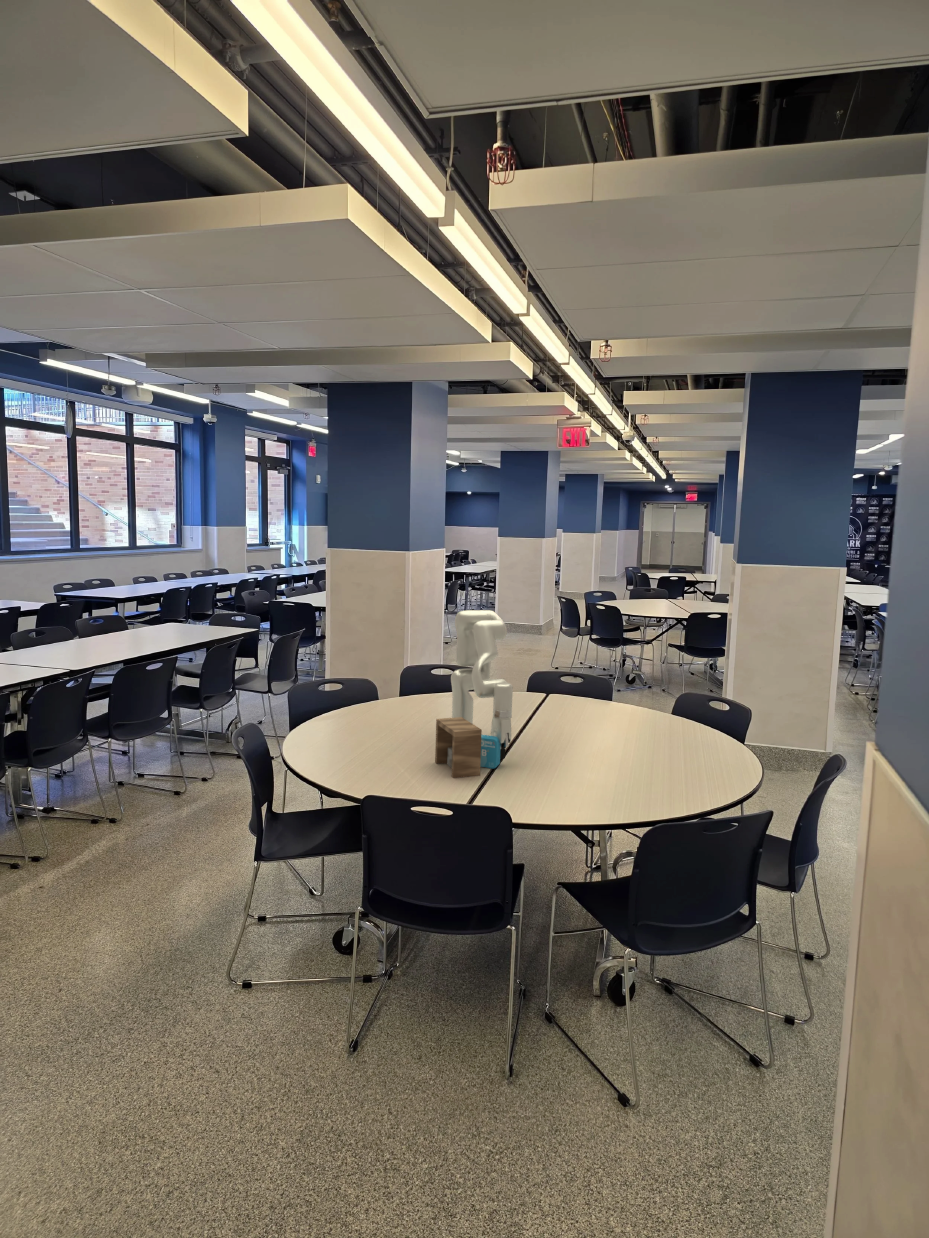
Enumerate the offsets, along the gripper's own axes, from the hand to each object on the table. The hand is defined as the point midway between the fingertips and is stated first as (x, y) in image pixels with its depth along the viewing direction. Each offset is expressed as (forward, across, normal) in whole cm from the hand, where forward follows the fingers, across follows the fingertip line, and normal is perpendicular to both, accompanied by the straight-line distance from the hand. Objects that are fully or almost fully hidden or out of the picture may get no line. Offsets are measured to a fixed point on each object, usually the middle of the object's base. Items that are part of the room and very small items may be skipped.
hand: (500, 757), depth 297 cm
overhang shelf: (+3, 0, -18) cm, 19 cm away
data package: (+3, -1, -7) cm, 8 cm away
